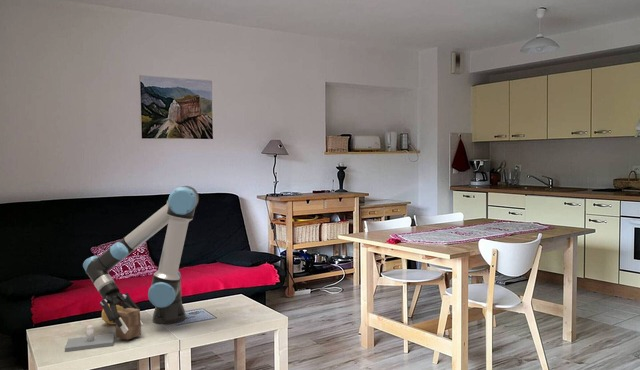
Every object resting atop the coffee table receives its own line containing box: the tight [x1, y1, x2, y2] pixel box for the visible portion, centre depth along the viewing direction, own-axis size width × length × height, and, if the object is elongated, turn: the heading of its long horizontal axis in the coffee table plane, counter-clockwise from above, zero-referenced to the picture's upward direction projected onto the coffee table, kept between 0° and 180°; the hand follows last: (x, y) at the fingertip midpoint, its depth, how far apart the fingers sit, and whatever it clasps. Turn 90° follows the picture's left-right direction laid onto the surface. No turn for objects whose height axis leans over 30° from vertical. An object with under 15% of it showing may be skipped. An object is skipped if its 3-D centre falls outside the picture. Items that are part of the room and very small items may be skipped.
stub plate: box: [64, 324, 115, 353], centre depth 222 cm, size 18×12×8 cm, turn 109°
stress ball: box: [101, 304, 124, 325], centre depth 249 cm, size 10×10×10 cm
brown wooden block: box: [115, 308, 142, 340], centre depth 227 cm, size 7×7×11 cm
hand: (133, 329), depth 226 cm, fingers closed on brown wooden block, 7 cm apart
